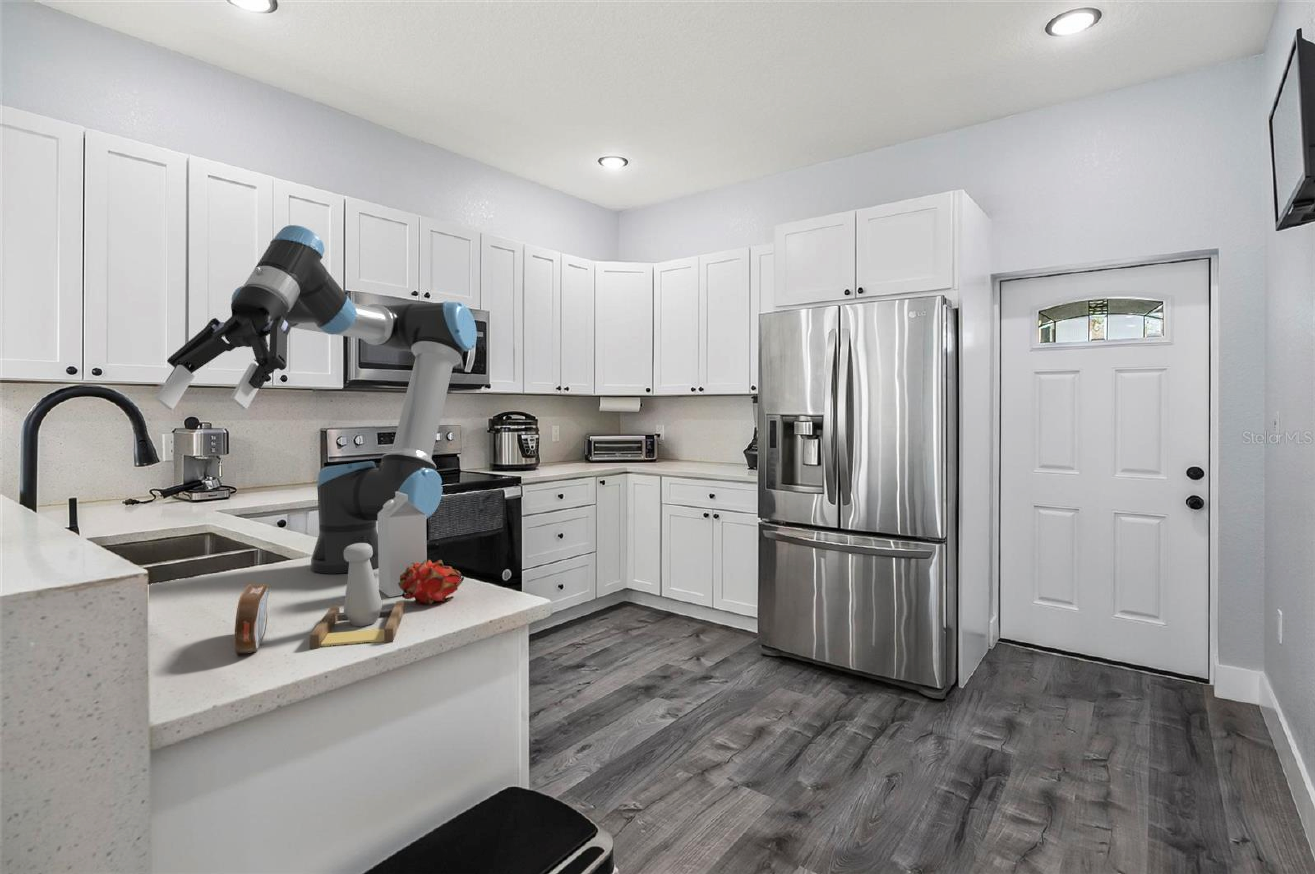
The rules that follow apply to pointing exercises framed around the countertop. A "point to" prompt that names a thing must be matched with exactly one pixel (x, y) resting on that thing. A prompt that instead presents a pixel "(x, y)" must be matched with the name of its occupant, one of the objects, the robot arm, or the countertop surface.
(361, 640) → the yellow panel
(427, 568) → the dragon fruit
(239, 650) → the tin
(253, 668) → the countertop surface
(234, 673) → the countertop surface
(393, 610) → the channel
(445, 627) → the countertop surface
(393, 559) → the milk carton
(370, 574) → the salt shaker
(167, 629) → the countertop surface
